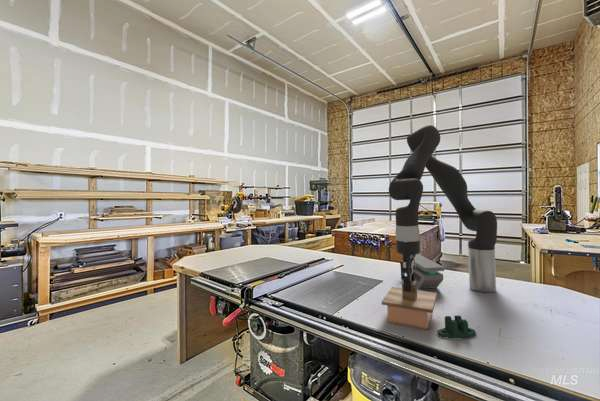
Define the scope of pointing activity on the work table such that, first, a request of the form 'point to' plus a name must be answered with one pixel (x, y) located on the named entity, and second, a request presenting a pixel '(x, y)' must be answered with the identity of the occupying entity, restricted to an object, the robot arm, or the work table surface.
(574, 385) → the work table surface
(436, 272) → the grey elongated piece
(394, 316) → the open storage bin
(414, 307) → the lid
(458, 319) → the mount
